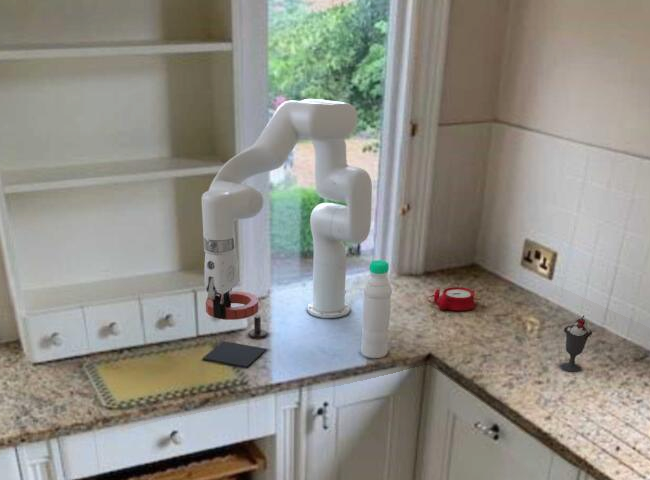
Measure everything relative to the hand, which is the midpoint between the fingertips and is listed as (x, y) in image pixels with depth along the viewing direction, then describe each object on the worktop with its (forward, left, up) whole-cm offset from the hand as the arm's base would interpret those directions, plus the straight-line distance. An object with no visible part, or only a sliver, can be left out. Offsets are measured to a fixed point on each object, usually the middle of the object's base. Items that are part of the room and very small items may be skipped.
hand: (222, 315), depth 202 cm
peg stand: (-20, 0, -14) cm, 24 cm away
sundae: (-32, +83, -14) cm, 90 cm away
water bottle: (-21, +34, -14) cm, 42 cm away
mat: (-6, 0, -14) cm, 15 cm away
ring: (-6, 0, -1) cm, 6 cm away
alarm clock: (-63, +45, -14) cm, 79 cm away
